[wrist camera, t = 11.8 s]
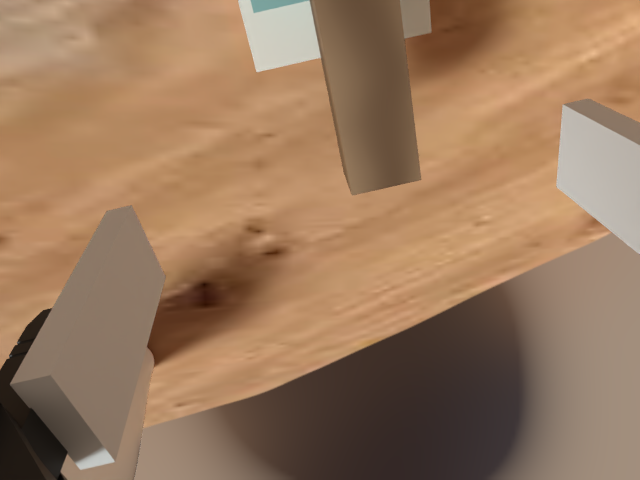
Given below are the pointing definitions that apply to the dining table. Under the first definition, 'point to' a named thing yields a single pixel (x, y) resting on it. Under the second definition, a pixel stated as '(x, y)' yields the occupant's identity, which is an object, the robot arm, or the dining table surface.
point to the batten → (368, 91)
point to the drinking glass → (121, 473)
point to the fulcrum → (304, 29)
